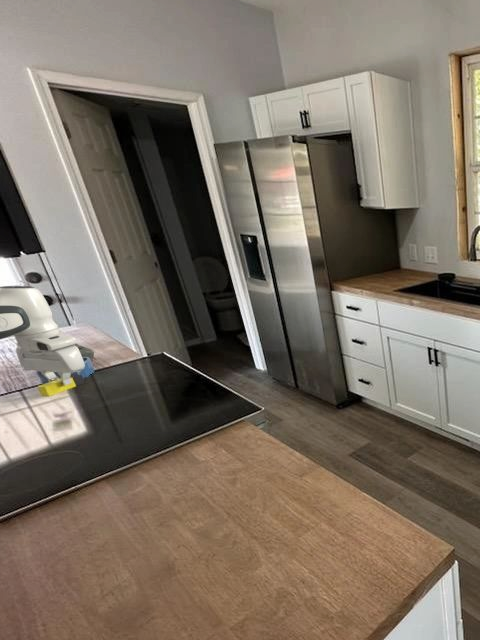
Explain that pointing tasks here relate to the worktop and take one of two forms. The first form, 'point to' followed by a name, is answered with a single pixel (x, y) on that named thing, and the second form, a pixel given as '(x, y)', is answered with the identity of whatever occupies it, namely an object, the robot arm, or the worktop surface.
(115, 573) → the worktop surface
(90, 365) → the bowl
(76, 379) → the block
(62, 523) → the worktop surface
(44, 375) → the robot arm
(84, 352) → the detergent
